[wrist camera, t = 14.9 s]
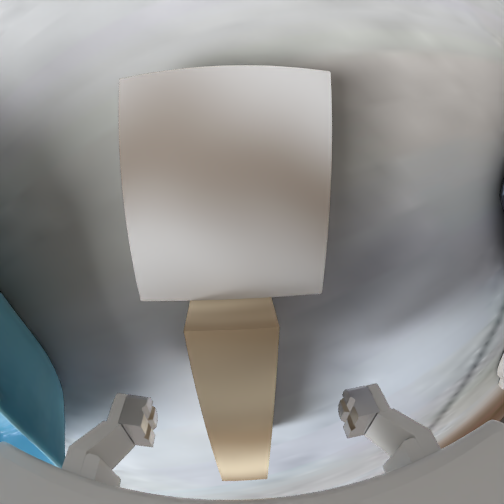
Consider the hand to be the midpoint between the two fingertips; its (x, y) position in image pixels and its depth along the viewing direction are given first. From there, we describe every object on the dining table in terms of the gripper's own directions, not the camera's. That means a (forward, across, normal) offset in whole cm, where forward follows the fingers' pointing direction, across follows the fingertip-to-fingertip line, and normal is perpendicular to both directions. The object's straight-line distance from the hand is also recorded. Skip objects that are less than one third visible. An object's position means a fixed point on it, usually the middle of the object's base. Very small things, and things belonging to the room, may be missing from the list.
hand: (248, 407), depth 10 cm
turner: (+3, 0, -3) cm, 4 cm away
